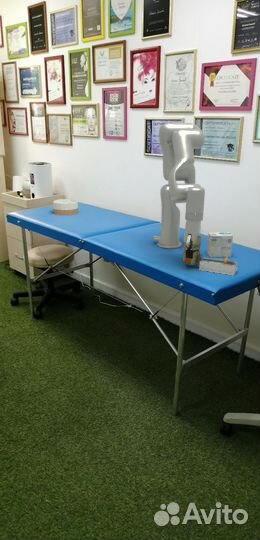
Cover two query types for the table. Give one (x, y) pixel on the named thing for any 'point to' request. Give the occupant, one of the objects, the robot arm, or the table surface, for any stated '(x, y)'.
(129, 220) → the table surface
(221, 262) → the plunger
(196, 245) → the shoe polish box
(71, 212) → the bowl
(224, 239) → the light bulb box
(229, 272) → the gauge rail
